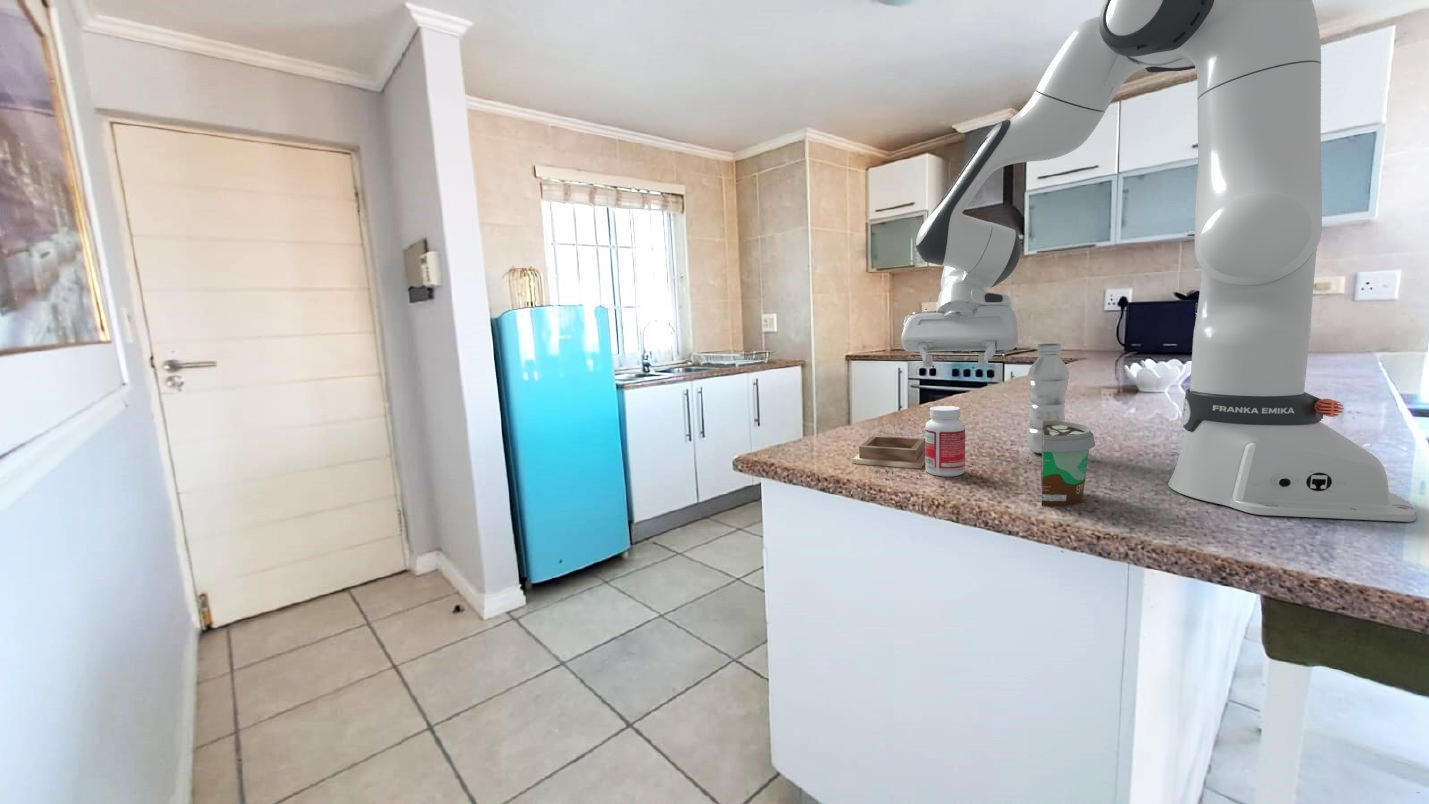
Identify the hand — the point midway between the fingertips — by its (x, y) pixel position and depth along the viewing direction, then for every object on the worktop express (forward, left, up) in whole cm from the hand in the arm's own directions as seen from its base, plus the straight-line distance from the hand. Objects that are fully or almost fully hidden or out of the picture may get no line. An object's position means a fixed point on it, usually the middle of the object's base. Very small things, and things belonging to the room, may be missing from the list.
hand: (954, 364), depth 101 cm
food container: (-17, +20, -17) cm, 32 cm away
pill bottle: (0, +12, -17) cm, 21 cm away
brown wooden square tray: (+10, +5, -17) cm, 20 cm away
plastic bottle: (-15, -6, -17) cm, 24 cm away
